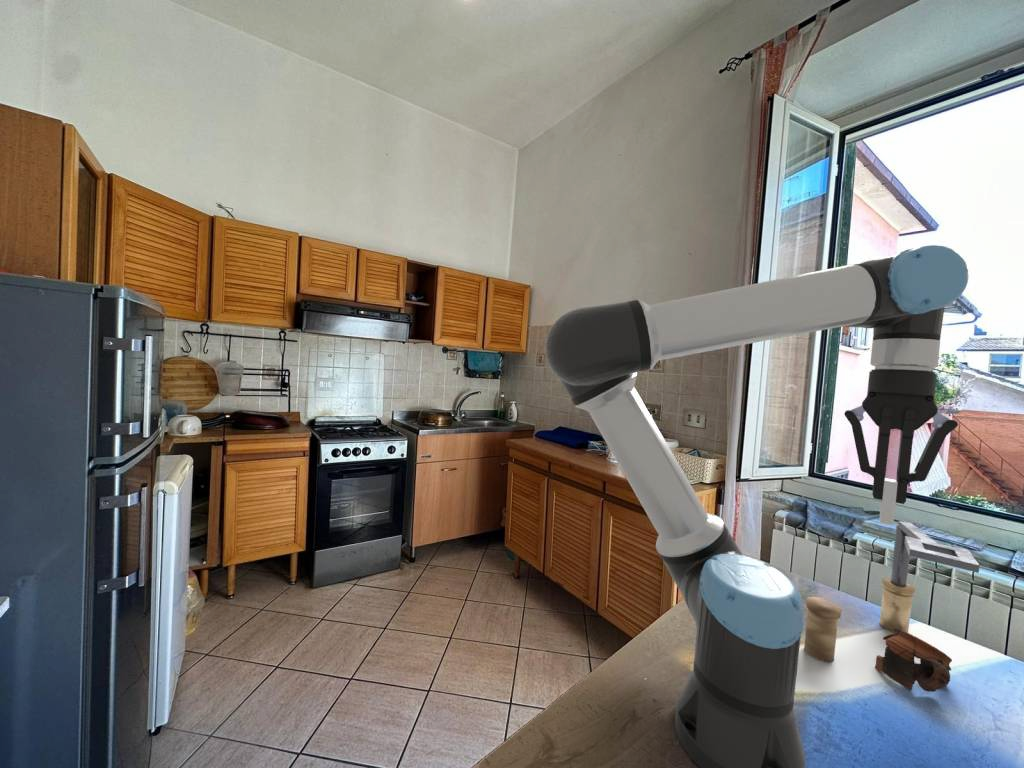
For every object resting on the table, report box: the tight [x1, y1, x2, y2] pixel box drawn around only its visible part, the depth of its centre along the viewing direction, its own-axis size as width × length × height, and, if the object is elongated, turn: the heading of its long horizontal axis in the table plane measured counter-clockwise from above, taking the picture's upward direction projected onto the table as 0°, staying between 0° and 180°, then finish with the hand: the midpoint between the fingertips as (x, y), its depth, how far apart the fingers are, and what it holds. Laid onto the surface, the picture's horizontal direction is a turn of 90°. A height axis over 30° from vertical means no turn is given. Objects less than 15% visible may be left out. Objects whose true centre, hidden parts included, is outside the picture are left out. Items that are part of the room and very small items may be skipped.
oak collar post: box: [803, 596, 842, 663], centre depth 76 cm, size 5×5×9 cm
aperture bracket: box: [879, 520, 980, 633], centre depth 78 cm, size 10×22×22 cm, turn 141°
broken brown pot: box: [874, 629, 953, 693], centre depth 71 cm, size 12×10×8 cm
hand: (886, 521), depth 65 cm, fingers closed
